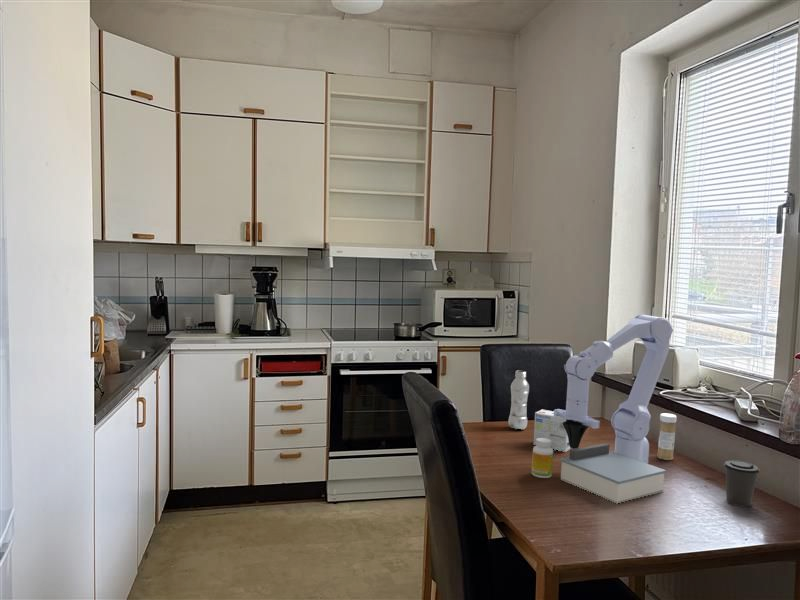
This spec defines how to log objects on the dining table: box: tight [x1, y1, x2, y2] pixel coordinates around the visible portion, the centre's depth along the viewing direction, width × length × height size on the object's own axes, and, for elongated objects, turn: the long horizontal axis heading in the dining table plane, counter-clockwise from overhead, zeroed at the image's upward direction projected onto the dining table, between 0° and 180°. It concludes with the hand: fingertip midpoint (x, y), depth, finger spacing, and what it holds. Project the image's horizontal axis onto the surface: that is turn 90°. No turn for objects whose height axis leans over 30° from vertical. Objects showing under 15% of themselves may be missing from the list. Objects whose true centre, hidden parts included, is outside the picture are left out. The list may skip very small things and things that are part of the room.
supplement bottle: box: [531, 438, 554, 479], centre depth 167 cm, size 5×5×10 cm
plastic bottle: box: [508, 370, 530, 430], centre depth 211 cm, size 6×7×20 cm
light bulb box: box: [532, 408, 572, 453], centre depth 193 cm, size 11×7×11 cm, turn 58°
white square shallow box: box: [560, 461, 665, 505], centre depth 161 cm, size 18×18×5 cm
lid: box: [559, 442, 667, 484], centre depth 161 cm, size 19×19×3 cm
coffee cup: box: [723, 459, 761, 507], centre depth 154 cm, size 8×8×10 cm
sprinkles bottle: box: [657, 412, 678, 461], centre depth 186 cm, size 5×5×13 cm
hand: (574, 447), depth 172 cm, fingers closed
